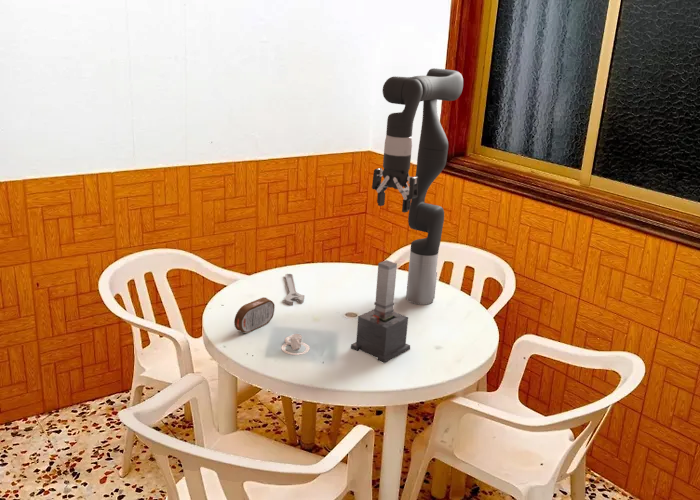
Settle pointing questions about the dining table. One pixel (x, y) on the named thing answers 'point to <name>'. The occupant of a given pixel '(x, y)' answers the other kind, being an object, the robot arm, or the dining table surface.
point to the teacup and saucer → (294, 344)
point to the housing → (381, 336)
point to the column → (385, 290)
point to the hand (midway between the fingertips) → (392, 208)
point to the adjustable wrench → (292, 291)
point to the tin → (254, 315)
